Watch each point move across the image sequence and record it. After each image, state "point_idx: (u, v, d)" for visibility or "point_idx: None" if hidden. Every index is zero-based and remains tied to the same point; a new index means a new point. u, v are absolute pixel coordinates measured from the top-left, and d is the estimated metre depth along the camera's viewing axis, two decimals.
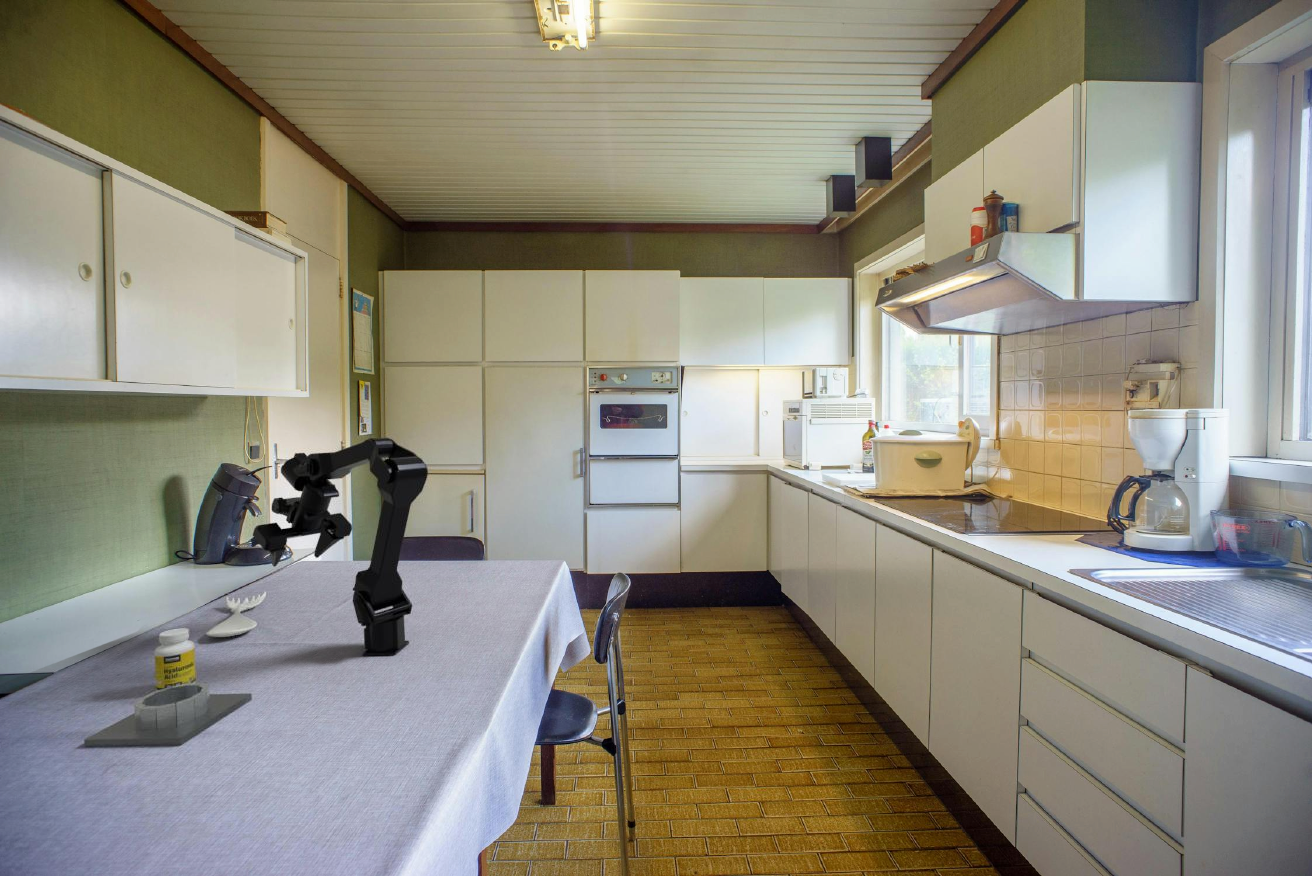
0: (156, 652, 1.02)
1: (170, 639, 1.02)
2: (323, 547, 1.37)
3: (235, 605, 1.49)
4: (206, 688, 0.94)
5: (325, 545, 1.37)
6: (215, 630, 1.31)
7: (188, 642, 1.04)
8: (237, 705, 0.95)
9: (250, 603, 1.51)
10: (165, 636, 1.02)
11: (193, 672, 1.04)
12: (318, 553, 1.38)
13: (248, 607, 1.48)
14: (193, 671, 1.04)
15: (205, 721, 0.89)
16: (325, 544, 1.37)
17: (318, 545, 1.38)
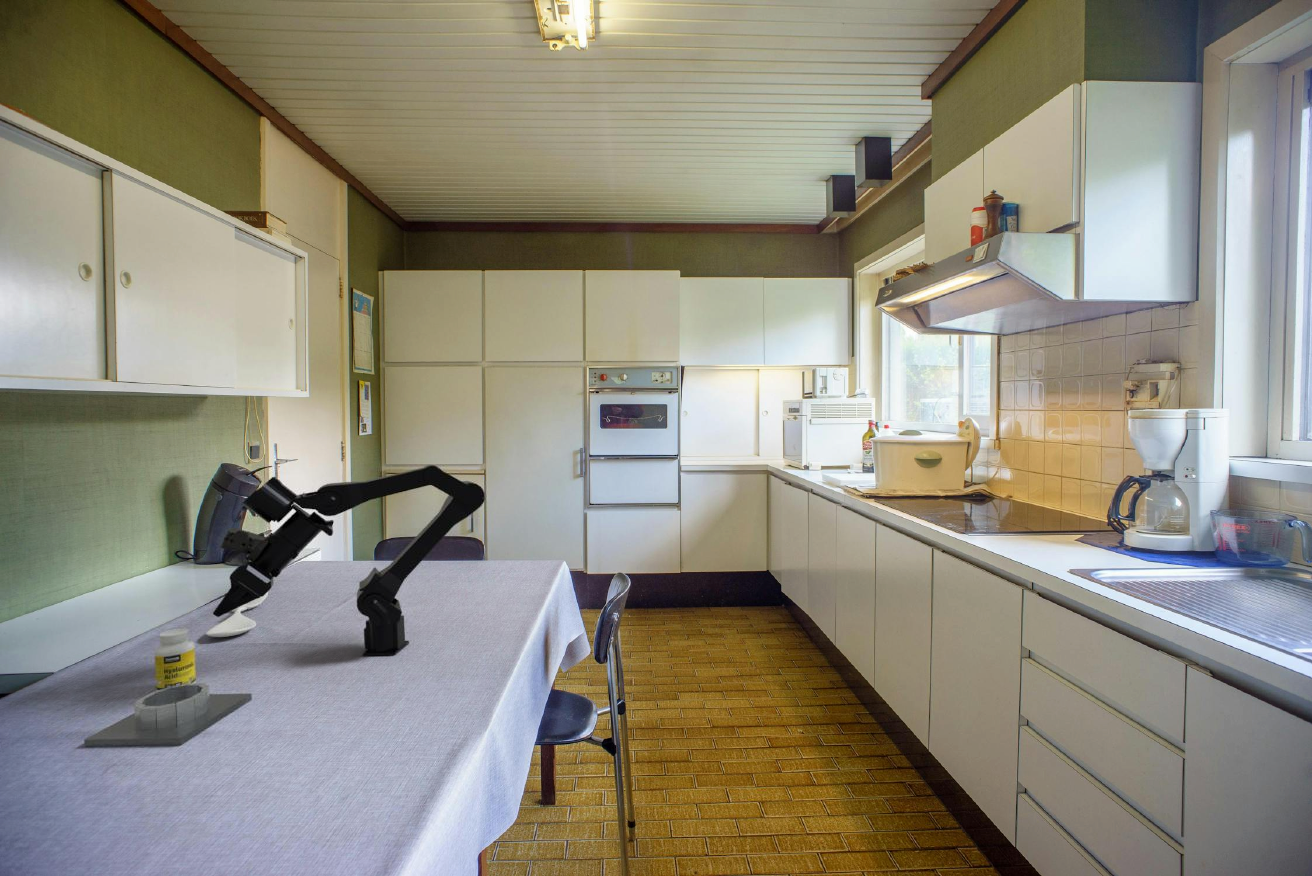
0: (156, 652, 1.02)
1: (170, 639, 1.02)
2: None
3: None
4: (206, 688, 0.94)
5: None
6: (214, 630, 1.31)
7: (188, 642, 1.04)
8: (237, 705, 0.95)
9: (252, 603, 1.51)
10: (165, 636, 1.02)
11: (193, 672, 1.04)
12: None
13: (249, 607, 1.48)
14: (193, 671, 1.04)
15: (205, 721, 0.89)
16: None
17: None
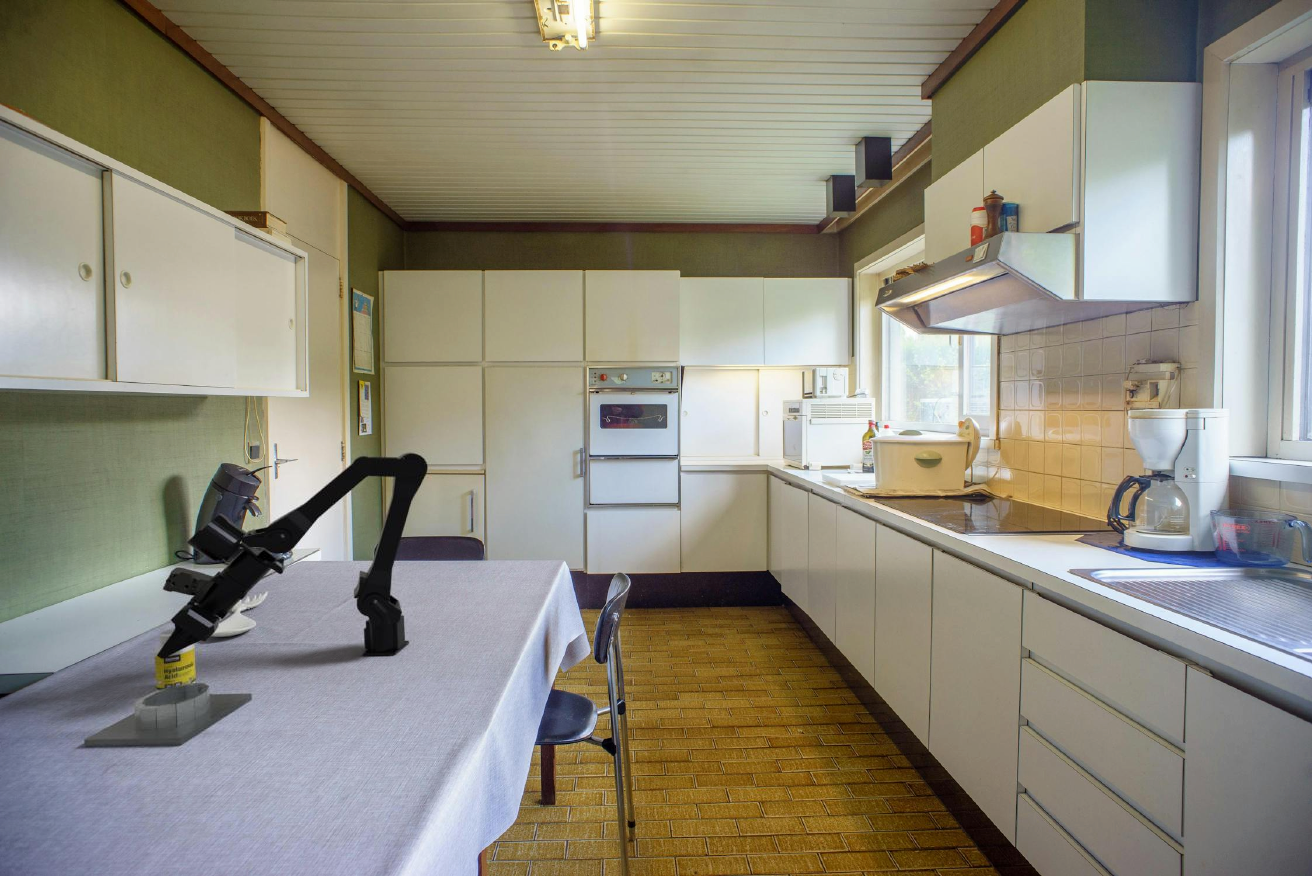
0: (156, 652, 1.02)
1: None
2: None
3: (236, 604, 1.50)
4: (206, 688, 0.94)
5: None
6: None
7: None
8: (237, 705, 0.95)
9: (251, 602, 1.51)
10: (165, 636, 1.02)
11: (193, 672, 1.04)
12: None
13: (249, 607, 1.48)
14: (193, 671, 1.04)
15: (205, 721, 0.89)
16: None
17: None
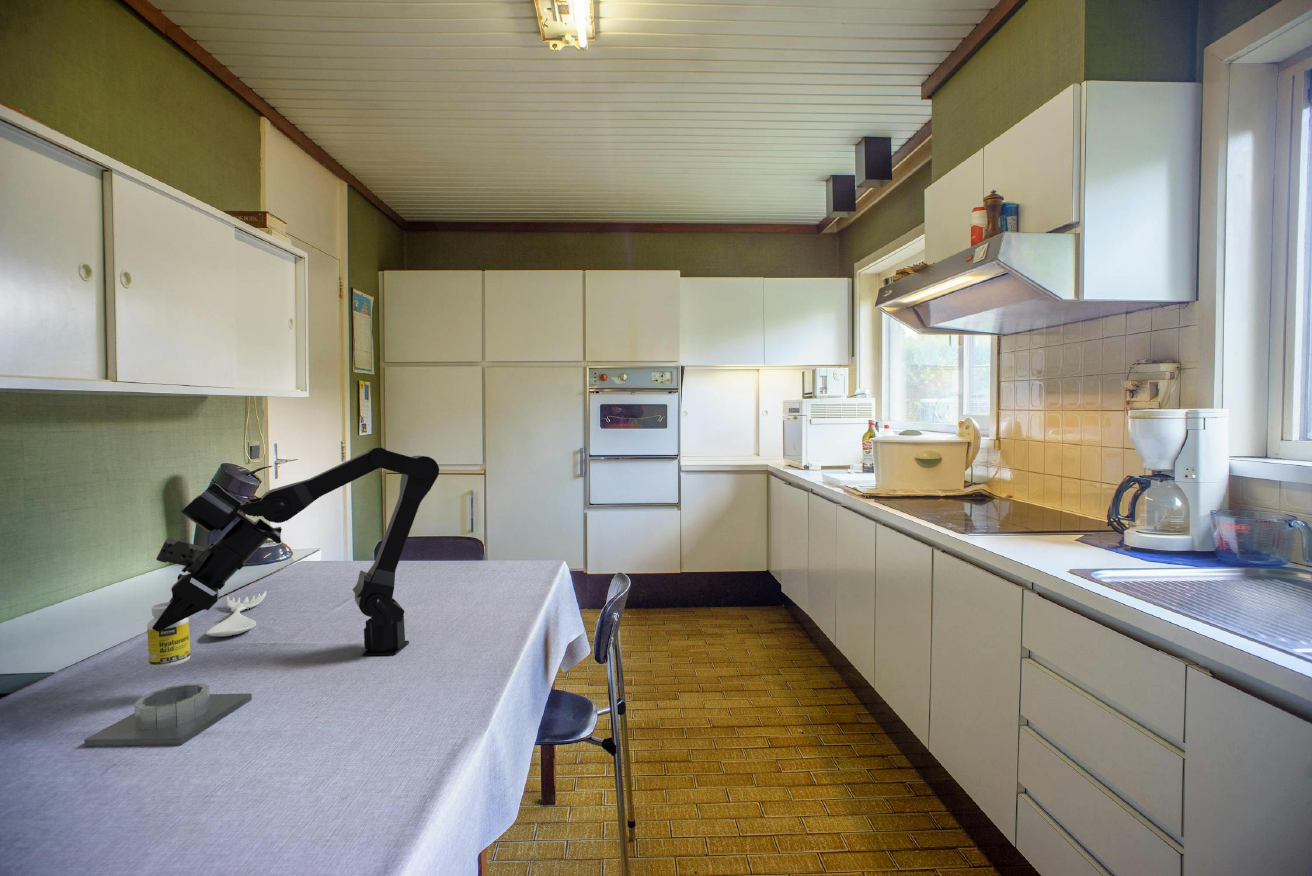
0: (150, 625, 0.98)
1: None
2: None
3: (235, 604, 1.50)
4: (206, 688, 0.94)
5: None
6: (214, 629, 1.31)
7: None
8: (237, 705, 0.95)
9: (250, 602, 1.51)
10: (159, 608, 0.98)
11: (188, 646, 1.01)
12: None
13: (248, 606, 1.48)
14: (188, 645, 1.01)
15: (205, 721, 0.89)
16: None
17: None
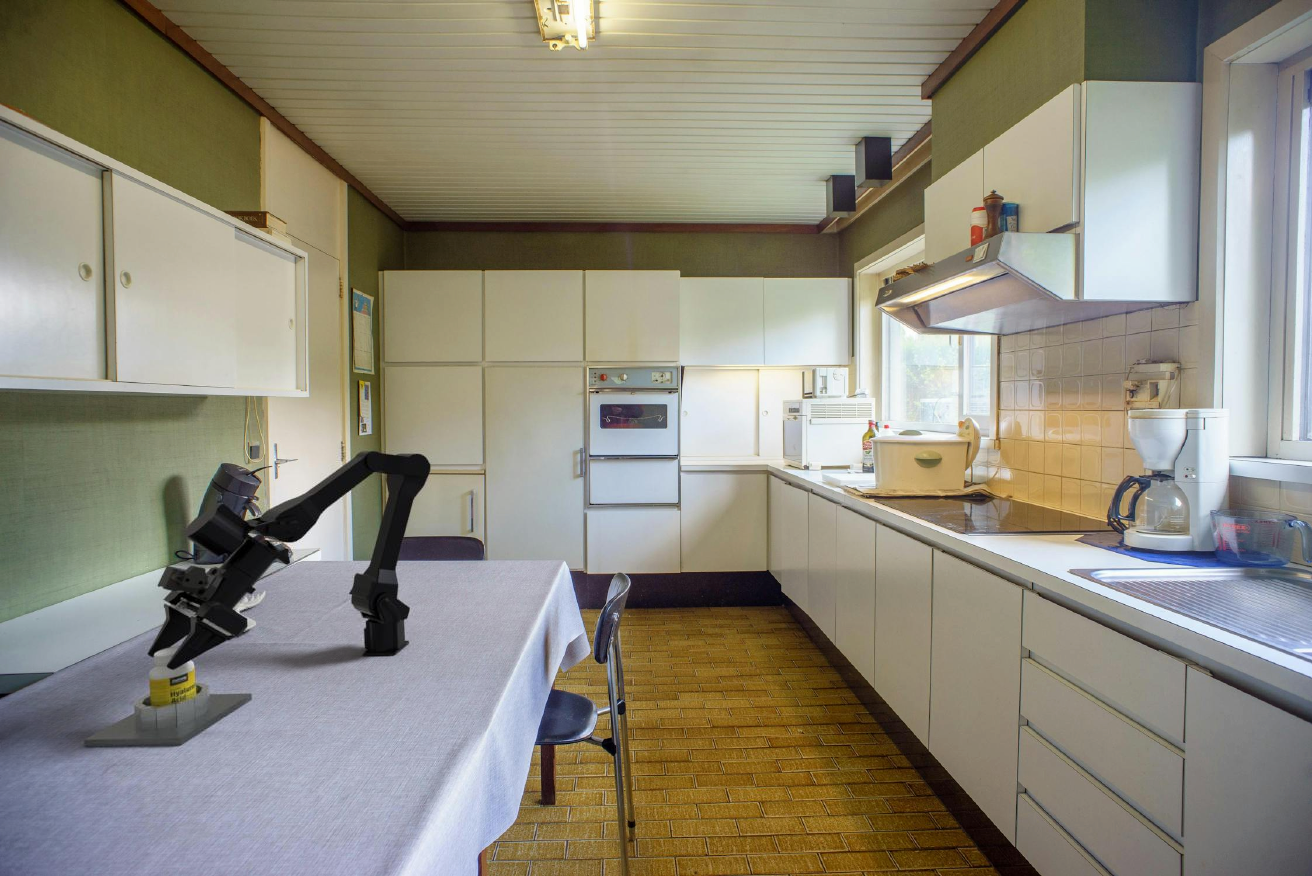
0: (156, 675, 0.89)
1: None
2: (177, 638, 0.96)
3: None
4: (206, 688, 0.94)
5: (182, 635, 0.96)
6: None
7: None
8: (237, 705, 0.95)
9: (249, 602, 1.51)
10: (168, 655, 0.90)
11: None
12: None
13: (247, 606, 1.48)
14: (195, 691, 0.93)
15: (205, 721, 0.89)
16: (182, 633, 0.96)
17: (164, 637, 0.94)
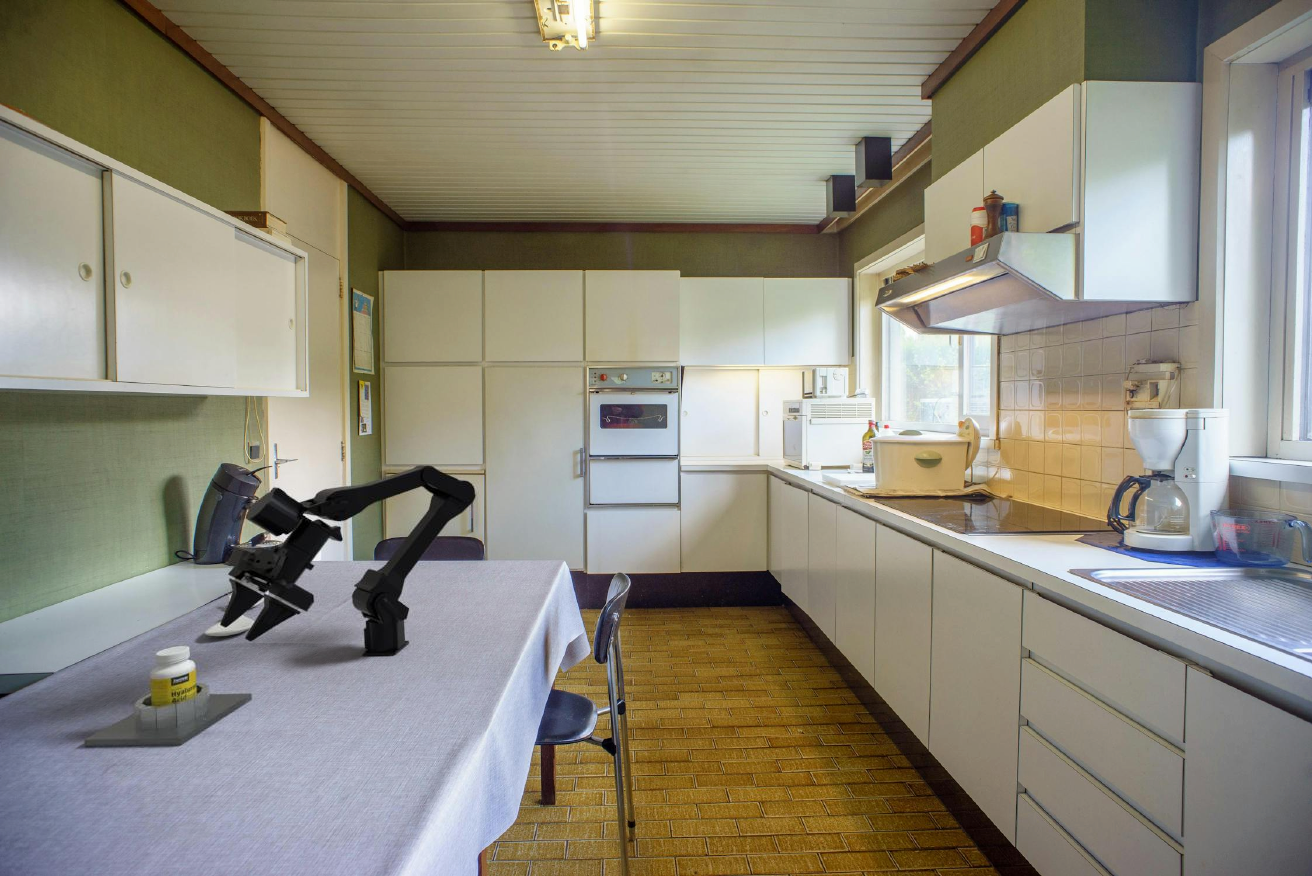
0: (158, 675, 0.89)
1: (176, 657, 0.90)
2: (244, 609, 1.04)
3: None
4: (206, 688, 0.94)
5: (248, 606, 1.05)
6: (213, 629, 1.31)
7: (189, 660, 0.93)
8: (237, 705, 0.95)
9: None
10: (170, 655, 0.90)
11: (196, 693, 0.93)
12: (233, 620, 1.03)
13: None
14: (196, 692, 0.93)
15: (205, 721, 0.89)
16: (248, 605, 1.05)
17: (233, 609, 1.03)
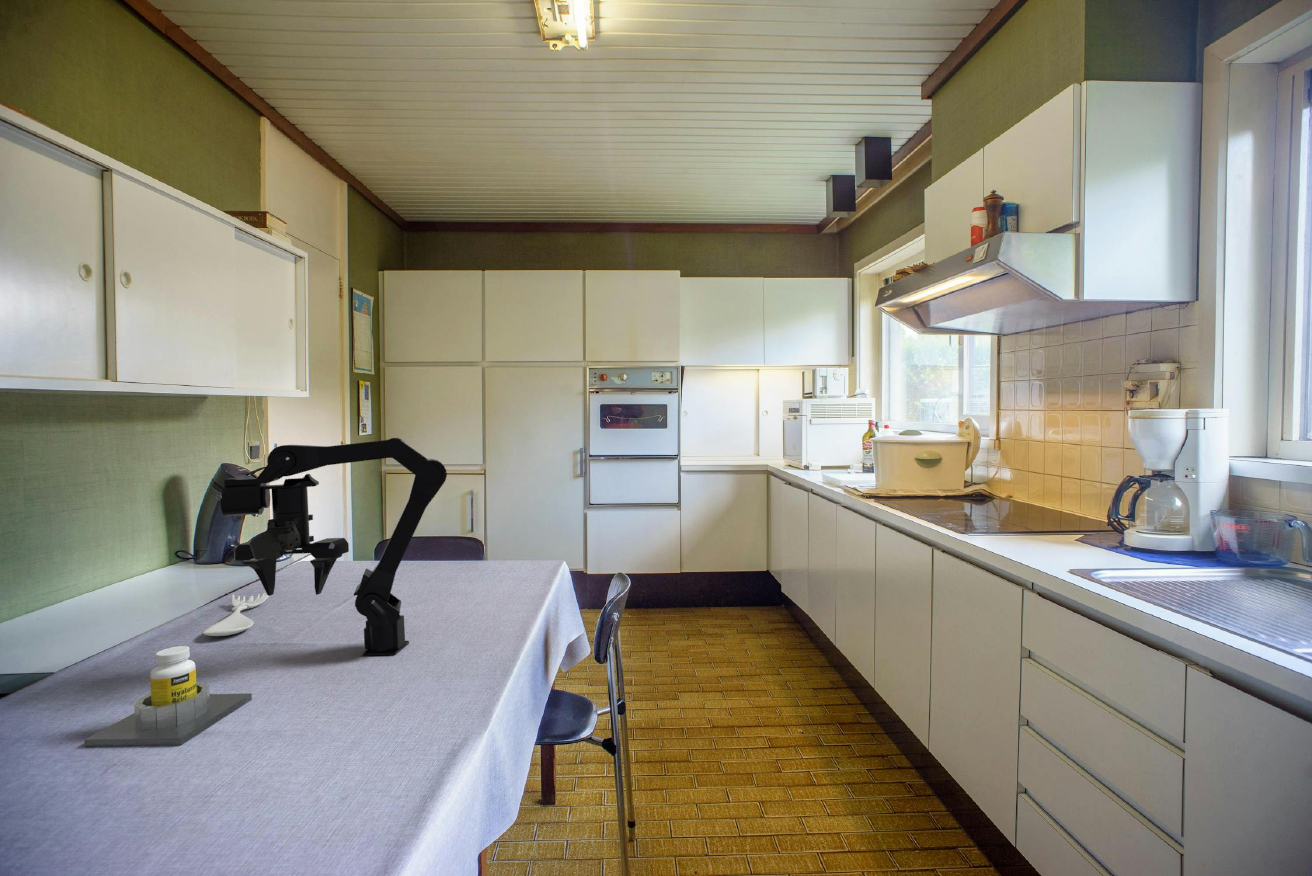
0: (158, 675, 0.89)
1: (176, 657, 0.90)
2: (273, 574, 1.14)
3: (239, 603, 1.51)
4: (206, 688, 0.94)
5: (274, 570, 1.15)
6: (212, 629, 1.32)
7: (189, 660, 0.93)
8: (237, 705, 0.95)
9: (254, 601, 1.52)
10: (170, 655, 0.90)
11: (196, 693, 0.93)
12: (273, 586, 1.14)
13: (251, 606, 1.49)
14: (196, 692, 0.93)
15: (205, 721, 0.89)
16: (273, 569, 1.15)
17: (268, 580, 1.13)
